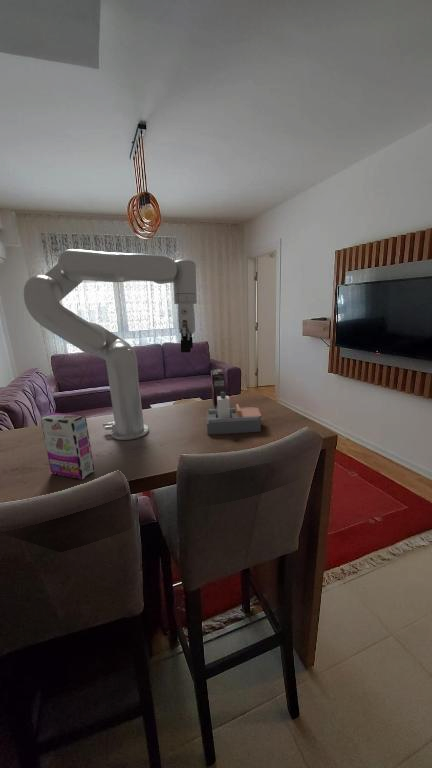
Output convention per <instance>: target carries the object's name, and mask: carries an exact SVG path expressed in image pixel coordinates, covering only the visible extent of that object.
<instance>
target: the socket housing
mask: <svg viewBox="0 0 432 768" xmlns="http://www.w3.org/2000/svg"><path fill="white" fill-rule="evenodd" d="M244 408H245V407H240V409H244ZM246 408H256V407H255V406H250V407H249V406H248V407H246ZM261 425H262V424H261V418H260V419H259V416H252V417H237V414H236V407H232V408H231V407H230V418H218V409H214V408H212V409H211V408H210V409H207V412H206V431H207V435H224V434H225V435H228V434H243V433H245V434H246V433H259V432H261V431H262V430H261V429H262V427H261Z"/></svg>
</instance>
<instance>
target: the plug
mask: <svg viewBox="0 0 432 768" xmlns="http://www.w3.org/2000/svg"><path fill="white" fill-rule="evenodd" d="M230 401H231V400H230V396H229V395H226V391H225V392H221V396H217V405H218V418H230V408H231V405H230Z"/></svg>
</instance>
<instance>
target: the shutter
mask: <svg viewBox="0 0 432 768" xmlns="http://www.w3.org/2000/svg"><path fill="white" fill-rule="evenodd" d="M235 408H236V414H237V417H252V416H259V419H260V420H261V419H262V414H261V412H260V409H259V408H258V407H255V408H247V407H243V408H244V409H240V408H241V407H240V405H239V403H235Z"/></svg>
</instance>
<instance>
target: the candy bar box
mask: <svg viewBox="0 0 432 768" xmlns="http://www.w3.org/2000/svg"><path fill="white" fill-rule="evenodd" d="M40 423H41V429H42V432H43V438H44V442H45V448H46V453H47V457H48V463H49V468H50V472H52V473H56V474H60V475H64V476H63V477H65V476H69V477H68V478H70V477H75V478H80V479H79V480H81V479H83V478H84V479H86V478H88V475H89V474H90V475H91V473H92V472H93V473H94V472H95V465H94V459H93V453H92V448H91V447H92V446H91V442H90V435H89V430H88V429H89V428H88V423H87V415H80V414H72V413H70V414H69V413H62V412H61V413H60V412H53V413H51V414H48V415H46V416H43V417H41V418H40ZM93 473H92V474H93ZM60 475H59V476H60ZM90 475H89V476H90ZM85 477H86V478H85ZM75 478H74V479H75ZM84 479H83V480H84Z"/></svg>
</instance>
